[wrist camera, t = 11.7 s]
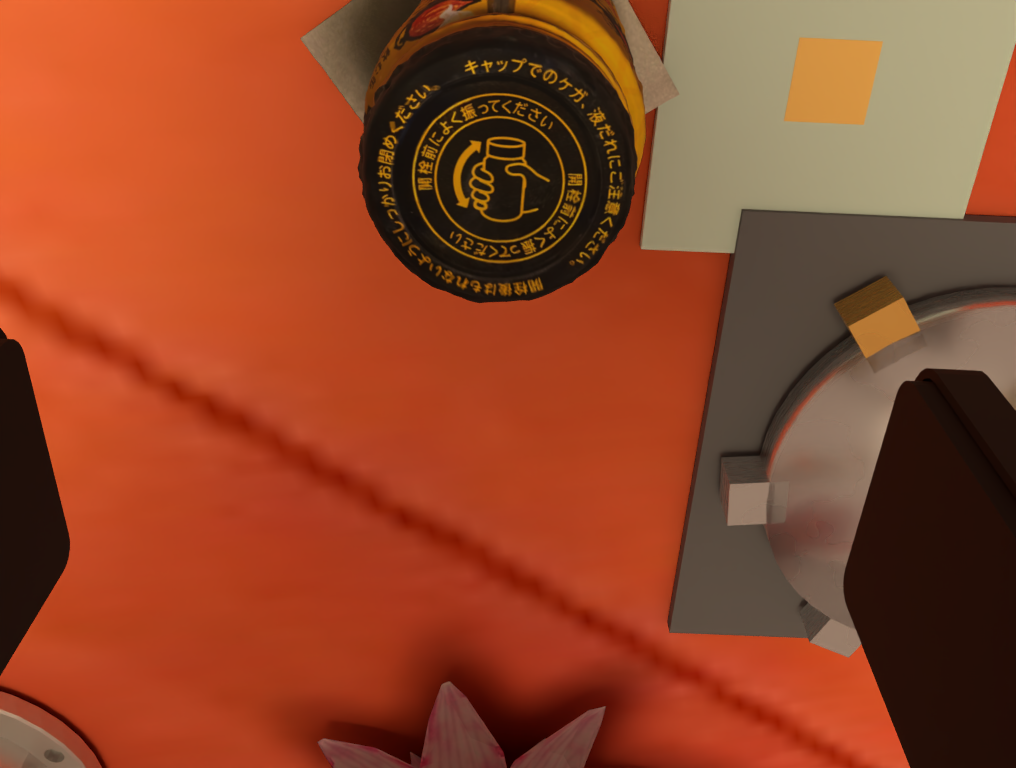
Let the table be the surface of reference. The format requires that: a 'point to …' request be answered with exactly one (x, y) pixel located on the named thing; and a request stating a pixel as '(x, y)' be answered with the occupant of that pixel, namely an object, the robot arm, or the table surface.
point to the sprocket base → (798, 375)
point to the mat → (821, 111)
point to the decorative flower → (472, 742)
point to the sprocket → (855, 433)
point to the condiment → (496, 132)
